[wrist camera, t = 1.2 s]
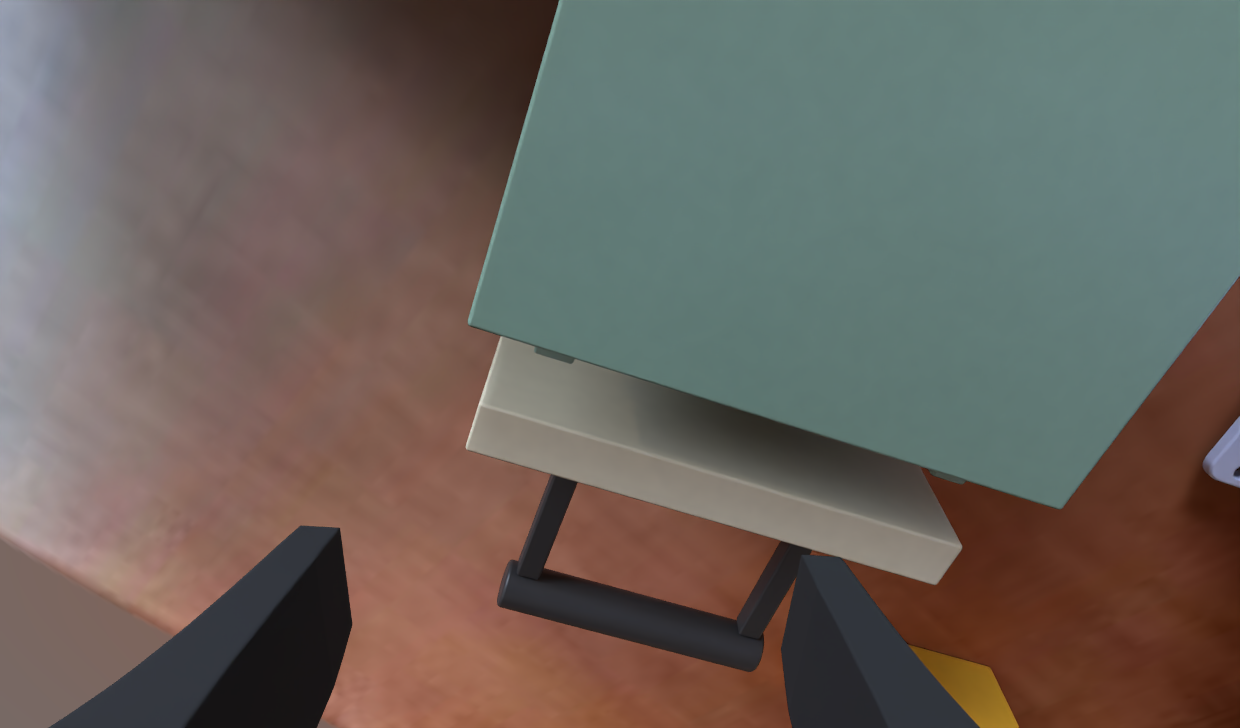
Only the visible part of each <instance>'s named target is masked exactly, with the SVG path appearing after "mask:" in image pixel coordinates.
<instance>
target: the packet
mask: <svg viewBox="0 0 1240 728" xmlns="http://www.w3.org/2000/svg"><path fill="white" fill-rule="evenodd" d="M908 646H909V647H910V648H911V649H912V650H913V652H914V653H915V654H916V655H917V657H918V658H919V659H920V660H921V661H922V663H923V664H924V665H925V666H926V667H927V669H928V670H929V671H930V672H931V673H932V675H933V676H934V677H935V678H936V679H937V680H938V682H939V683H940V684H941V685H942V686H943V687H944V689H945V690H946V691H947V692H948V693H949V694H950V695H951V696H952V697H953V699H954V700H955V701H956V702H957V703H958V704H959V705H960V706H961V707H962V708H963V710H964V711H965V712H966V713H967V714H968V715H969V716H970V717H971V718H972V719H973V720H974V721H975V723H976V724H977V725H978V726H979V727H980V728H1019V726H1018V724H1017V722H1016V719H1015V717H1014V715H1013V713H1012V711H1011V709H1010V707H1009V705H1008V703H1007V701H1006V699H1005V697H1004V695H1003V693H1002V691H1001V689H1000V687H999V684H998V682H997V680H996V678H995V676H994V674H993V672H992V670H991V668H990V667H988V666H984V665H981V664H977V663H973V662H970V661H966V660H963V659H959V658H955V657H952V656H948V655H944V654H941V653H937V652H933V651H930V650H926V649H923V648H919V647H915V646H912V645H908Z"/></svg>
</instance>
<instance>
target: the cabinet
mask: <svg viewBox="0 0 1240 728" xmlns="http://www.w3.org/2000/svg"><path fill="white" fill-rule="evenodd" d="M1239 276H1240V0H559V3H558V7H557V10H556V14H555V17H554V21H553V24H552V28H551V31H550V35H549V38H548V42H547V45H546V49H545V52H544V56H543V59H542V63H541V66H540V70H539V73H538V77H537V80H536V84H535V87H534V91H533V94H532V98H531V101H530V105H529V108H528V112H527V115H526V119H525V122H524V126H523V129H522V133H521V136H520V140H519V143H518V147H517V150H516V154H515V157H514V161H513V164H512V168H511V171H510V175H509V178H508V182H507V185H506V189H505V192H504V196H503V199H502V203H501V206H500V210H499V213H498V217H497V220H496V224H495V227H494V231H493V234H492V238H491V241H490V245H489V248H488V252H487V255H486V259H485V262H484V266H483V269H482V273H481V276H480V280H479V283H478V287H477V290H476V294H475V297H474V301H473V304H472V308H471V311H470V315H469V318H468V325H469V326H471V327H474V328H477V329H480V330H483V331H487V332H490V333H493V334H496V335H499V336H503V337H506V338H509V339H512V340H515V341H519V342H522V343H525V344H528V345H531V346H535V347H538V348H541V349H544V350H548V351H551V352H554V353H557V354H560V355H564V356H567V357H570V358H573V359H576V360H580V361H583V362H586V363H589V364H593V365H596V366H599V367H602V368H605V369H609V370H612V371H615V372H618V373H621V374H625V375H628V376H631V377H634V378H637V379H641V380H644V381H647V382H650V383H654V384H657V385H660V386H663V387H666V388H670V389H673V390H676V391H679V392H682V393H686V394H689V395H692V396H695V397H698V398H702V399H705V400H708V401H711V402H715V403H718V404H721V405H724V406H727V407H731V408H734V409H737V410H740V411H743V412H747V413H750V414H753V415H756V416H759V417H763V418H766V419H769V420H772V421H776V422H779V423H782V424H785V425H788V426H792V427H795V428H798V429H801V430H804V431H808V432H811V433H814V434H817V435H821V436H824V437H827V438H830V439H833V440H837V441H840V442H843V443H846V444H849V445H853V446H856V447H859V448H862V449H865V450H869V451H872V452H875V453H878V454H882V455H885V456H888V457H891V458H894V459H898V460H901V461H904V462H907V463H910V464H914V465H917V466H920V467H923V468H926V469H930V470H933V471H936V472H939V473H943V474H946V475H949V476H952V477H955V478H959V479H962V480H965V481H968V482H971V483H975V484H978V485H981V486H984V487H988V488H991V489H994V490H997V491H1000V492H1004V493H1007V494H1010V495H1013V496H1016V497H1020V498H1023V499H1026V500H1029V501H1032V502H1036V503H1039V504H1042V505H1045V506H1049V507H1052V508H1055V509H1058V510H1059V509H1062V508H1063V507H1064V505H1065V504H1066V503H1067V501H1068V500H1069V499H1070V498H1071V496H1072V495H1073V494H1074V492H1075V491H1076V490H1077V488H1078V487H1079V486H1080V484H1081V483H1082V482H1083V480H1084V479H1085V478H1086V477H1087V475H1088V474H1089V473H1090V471H1091V470H1092V469H1093V467H1094V466H1095V465H1096V463H1097V462H1098V461H1099V460H1100V458H1101V457H1102V456H1103V454H1104V453H1105V452H1106V450H1107V449H1108V448H1109V446H1110V445H1111V444H1112V443H1113V441H1114V440H1115V439H1116V437H1117V436H1118V435H1119V433H1120V432H1121V431H1122V429H1123V428H1124V427H1125V425H1126V424H1127V423H1128V422H1129V420H1130V419H1131V418H1132V416H1133V415H1134V414H1135V412H1136V411H1137V410H1138V408H1139V407H1140V406H1141V405H1142V403H1143V402H1144V401H1145V399H1146V398H1147V397H1148V395H1149V394H1150V393H1151V391H1152V390H1153V389H1154V388H1155V386H1156V385H1157V384H1158V382H1159V381H1160V380H1161V378H1162V377H1163V376H1164V374H1165V373H1166V372H1167V370H1168V369H1169V368H1170V367H1171V365H1172V364H1173V363H1174V361H1175V360H1176V359H1177V357H1178V356H1179V355H1180V353H1181V352H1182V351H1183V350H1184V348H1185V347H1186V346H1187V344H1188V343H1189V342H1190V340H1191V339H1192V338H1193V336H1194V335H1195V334H1196V332H1197V331H1198V330H1199V329H1200V327H1201V326H1202V325H1203V323H1204V322H1205V321H1206V319H1207V318H1208V317H1209V315H1210V314H1211V313H1212V312H1213V310H1214V309H1215V308H1216V306H1217V305H1218V304H1219V302H1220V301H1221V300H1222V298H1223V297H1224V296H1225V295H1226V293H1227V292H1228V291H1229V289H1230V288H1231V287H1232V285H1233V284H1234V283H1235V281H1236V280H1237V279H1238V277H1239Z"/></svg>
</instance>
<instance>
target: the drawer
mask: <svg viewBox="0 0 1240 728" xmlns="http://www.w3.org/2000/svg"><path fill="white" fill-rule="evenodd" d="M466 449H467V450H468V451H471V452H475V453H478V454H482V455H485V456H489V457H492V458H496V459H499V460H503V461H506V462H510V463H513V464H516V465H520V466H523V467H527V468H530V469H534V470H537V471H541V472H544V473H548V474H551V475H550V478H549V481H548V483H547V486H546V488H545V491H544V494H543V496H542V499H541V502H540V504H539V507H538V510H537V512H536V515H535V518H534V520H533V523H532V526H531V528H530V531H529V534H528V536H527V539H526V542H525V544H524V547H523V550H522V552H521V555H520V557H519V561H516V560H510V561H509V563H508V564H507V567H506V569H505V572H504V575H503V578H502V582H501V585H500V589H499V593H498V598H497V605H498V606H499V607H502V608H506V609H510V610H514V611H517V612H521V613H525V614H529V615H533V616H536V617H540V618H544V619H548V620H552V621H556V622H559V623H563V624H567V625H571V626H575V627H578V628H582V629H586V630H590V631H594V632H598V633H601V634H605V635H609V636H613V637H617V638H621V639H624V640H628V641H632V642H636V643H640V644H643V645H647V646H651V647H655V648H659V649H663V650H666V651H670V652H674V653H678V654H682V655H685V656H689V657H693V658H697V659H701V660H705V661H708V662H712V663H716V664H720V665H724V666H728V667H731V668H735V669H739V670H743V671H747V672H752V671H754V670H755V669H756V668H757V666H758V665H759V662H760V660H761V657H762V653H763V647H764V636H763V632H764V630H765V628H766V627H767V625H768V623H769V622H770V620H771V618H772V617H773V615H774V613H775V612H776V610H777V608H778V607H779V605H780V603H781V602H782V600H783V598H784V597H785V595H786V593H787V592H788V590H789V588H790V587H791V585H792V583H793V582H794V580H795V578H796V577H797V573H798V568H799V564H800V559H801V555H810V553H811V551H812V550H814V551H818V552H821V553H825V554H828V555H832V556H835V557H841V558H842V559H846V560H849V561H853V562H856V563H859V564H863V565H866V566H870V567H873V568H877V569H880V570H884V571H887V572H891V573H894V574H898V575H901V576H904V577H908V578H911V579H915V580H918V581H922V582H925V583H929V584H932V585H936V584H938V582H939V581H940V579H941V578H942V577H943V575H944V574H945V572H946V571H947V570H948V568H949V567H950V565H951V564H952V563H953V561H954V560H955V558H956V557H957V556H958V554H959V553H960V551H961V550H962V545H961V543H960V541H959V539H958V537H957V535H956V533H955V532H954V530H953V528H952V526H951V524H950V522H949V520H948V519H947V517H946V515H945V513H944V511H943V509H942V507H941V505H940V504H939V502H938V500H937V498H936V496H935V494H934V492H933V491H932V489H931V487H930V485H929V483H928V481H927V479H926V477H925V476H924V474H923V472H922V470H921V468H920V466H917V465H914V464H910V463H907V462H904V461H901V460H898V459H894V458H891V457H888V456H885V455H882V454H878V453H875V452H872V451H869V450H865V449H862V448H859V447H856V446H853V445H849V444H846V443H843V442H840V441H837V440H833V439H830V438H827V437H824V436H821V435H817V434H814V433H811V432H808V431H804V430H801V429H798V428H795V427H792V426H788V425H785V424H782V423H779V422H776V421H772V420H769V419H766V418H763V417H759V416H756V415H753V414H750V413H747V412H743V411H740V410H737V409H734V408H731V407H727V406H724V405H721V404H718V403H715V402H711V401H708V400H705V399H702V398H698V397H695V396H692V395H689V394H686V393H682V392H679V391H676V390H673V389H670V388H666V387H663V386H660V385H657V384H654V383H650V382H647V381H644V380H641V379H637V378H634V377H631V376H628V375H625V374H621V373H618V372H615V371H612V370H609V369H605V368H602V367H599V366H596V365H593V364H589V363H586V362H583V361H580V360H576V359H573V358H570V357H567V356H564V355H560V354H557V353H554V352H551V351H548V350H544V349H541V348H538V347H535V346H531V345H528V344H525V343H522V342H519V341H515V340H512V339H509V338H506V337H503V336H501V337H500V340H499V343H498V346H497V349H496V352H495V356H494V359H493V362H492V365H491V368H490V371H489V374H488V377H487V380H486V383H485V386H484V389H483V393H482V396H481V399H480V402H479V405H478V408H477V411H476V415H475V418H474V421H473V424H472V428H471V431H470V434H469V437H468V440H467V444H466ZM928 470H929V472H930V473H931V474H932V475H933V476H935V477H939V478H942V479H945V480H948V481H951V482H955V483H958V484H964V483H965V482H966V481H965V480H962V479H959V478H955V477H952V476H949V475H946V474H943V473H939V472H936V471H933V470H930V469H928ZM578 482H579V483H582V484H586V485H589V486H593V487H596V488H600V489H603V490H607V491H610V492H613V493H617V494H620V495H624V496H627V497H631V498H634V499H638V500H641V501H645V502H648V503H652V504H655V505H659V506H662V507H665V508H669V509H672V510H676V511H679V512H683V513H686V514H690V515H693V516H697V517H700V518H704V519H707V520H710V521H714V522H717V523H721V524H724V525H728V526H731V527H735V528H738V529H742V530H745V531H749V532H752V533H756V534H759V535H762V536H766V537H769V538H773V539H776V540H780V543H779V545H778V547H777V548H776V550H775V552H774V554H773V555H772V557H771V559H770V561H769V562H768V564H767V566H766V568H765V569H764V571H763V573H762V575H761V576H760V578H759V580H758V582H757V584H756V585H755V587H754V589H753V591H752V592H751V594H750V596H749V598H748V599H747V601H746V603H745V605H744V606H743V608H742V610H741V612H740V613H739V615H738V617H737V620H734V619H730V618H726V617H723V616H719V615H715V614H712V613H708V612H704V611H700V610H697V609H693V608H689V607H686V606H682V605H678V604H675V603H671V602H667V601H664V600H660V599H656V598H652V597H649V596H645V595H641V594H638V593H634V592H630V591H627V590H623V589H619V588H616V587H612V586H608V585H605V584H601V583H597V582H593V581H590V580H586V579H582V578H579V577H575V576H571V575H568V574H564V573H560V572H557V571H553V570H549V569H545V568H544V566H545V563H546V561H547V558H548V556H549V553H550V551H551V548H552V546H553V543H554V541H555V538H556V536H557V533H558V531H559V528H560V526H561V523H562V521H563V518H564V515H565V513H566V510H567V508H568V505H569V503H570V500H571V498H572V495H573V493H574V490H575V488H576V485H577V483H578Z"/></svg>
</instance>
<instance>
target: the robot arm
mask: <svg viewBox="0 0 1240 728" xmlns="http://www.w3.org/2000/svg"><path fill="white" fill-rule="evenodd" d="M1239 467H1240V416H1239V417H1238V419H1237V420H1236V421H1235V422H1234V423H1233V425H1232V426H1231V427H1230V428H1229V429H1228V431H1227V432H1226V433H1225V434H1224V435H1223V436H1222V438H1221V439H1220V440H1219V441H1218V442H1217V444H1216V445H1215V446H1214V447H1213V448H1212V450H1211V451H1210V452H1209V453H1208V454H1207V456H1206V457H1205V459H1204V461H1203V469H1204V471H1205V472H1206V473H1207V474H1208V475H1209V476H1210V477H1212V478H1213V479H1215V480H1217V481H1220V482H1223V483H1226V484H1229V485H1232V486H1235V487H1238V488H1240V469H1239V470H1237V471H1235V470H1236V469H1237V468H1239ZM351 628H352V618H351V610H350V602H349V595H348V587H347V579H346V571H345V564H344V556H343V548H342V540H341V532H340V528H332V527H315V526H300V527H299V528H297V529H296V530H295V531H294V532H293V533H292V534H290V535H289V536H288V537H287V538H286V539H285V540H284V541H282V542H281V543H280V544H279V545H278V546H277V547H276V548H275V549H274V550H273V551H271V552H270V553H269V554H268V555H267V556H266V557H265V558H264V559H263V560H262V561H260V562H259V563H258V564H257V565H256V566H255V567H254V568H253V569H252V570H251V571H249V572H248V573H247V574H246V575H245V576H244V577H243V578H242V579H241V580H239V581H238V582H237V583H236V584H235V585H234V586H233V587H232V588H231V589H229V590H228V591H227V592H226V593H225V594H224V595H222V596H221V597H220V598H219V599H218V600H217V601H216V602H214V603H213V604H212V605H211V606H210V607H209V608H207V609H206V610H205V611H204V612H203V613H202V614H201V615H199V616H198V617H197V618H196V619H195V620H194V621H192V622H191V623H190V624H189V625H188V626H186V627H185V628H184V629H183V630H182V631H180V632H179V633H178V634H177V635H175V636H174V637H173V638H172V639H171V640H169V641H168V642H167V643H165V644H164V645H163V646H162V647H160V648H159V649H158V650H157V651H155V652H154V653H153V654H151V655H150V656H149V657H148V658H146V659H145V660H144V661H143V662H141V663H140V664H139V665H138V666H136V667H135V668H134V669H132V670H131V671H130V672H128V673H127V674H126V675H124V676H123V677H122V678H120V679H119V680H118V681H116V682H115V683H114V684H112V685H111V686H109V687H108V688H107V689H105V690H104V691H102V692H101V693H100V694H98V695H97V696H95V697H94V698H92V699H91V700H89V701H88V702H86V703H85V704H84V705H82V706H80V707H79V708H78V709H76V710H75V711H73V712H72V713H70V714H69V715H67V716H66V717H64V718H63V719H61V720H60V721H58V722H57V723H55V724H53V725H52V726H51V727H49V728H317V726H318V723H319V721H320V719H321V716H322V714H323V712H324V709H325V707H326V705H327V702H328V700H329V698H330V695H331V693H332V690H333V688H334V685H335V682H336V679H337V675H338V672H339V669H340V666H341V662H342V659H343V656H344V652H345V649H346V645H347V642H348V638H349V635H350V631H351ZM781 653H782V662H783V671H784V679H785V688H786V695H787V703H788V710H789V715H790V720H791V724H792V728H980V727H979V726H978V725H977V724H976V723H975V721H974V720H973V719H972V718H971V717H970V716H969V715H968V714H967V713H966V712H965V711H964V710H963V708H962V707H961V706H960V705H959V704H958V703H957V702H956V701H955V700H954V699H953V697H952V696H951V695H950V694H949V693H948V692H947V691H946V690H945V689H944V687H943V686H942V685H941V684H940V683H939V682H938V680H937V679H936V678H935V677H934V676H933V675H932V673H931V672H930V671H929V670H928V669H927V667H926V666H925V665H924V664H923V663H922V661H921V660H920V659H919V658H918V657H917V655H916V654H915V653H914V652H913V650H912V649H911V648H910V647H909V646H908V644H907V643H906V642H905V641H904V640H903V638H902V637H901V636H900V634H899V633H898V632H897V631H896V629H895V628H894V627H893V626H892V624H891V623H890V622H889V620H888V619H887V618H886V616H885V615H884V614H883V613H882V611H881V610H880V609H879V607H878V606H877V605H876V603H875V602H874V601H873V599H872V598H871V597H870V595H869V594H868V593H867V591H866V590H865V589H864V587H863V586H862V585H861V583H860V582H859V581H858V579H857V578H856V577H855V575H854V574H853V573H852V571H851V570H850V568H849V567H848V566H847V565H846V563H845V562H844V561H843V560H842V558H841V557H832V556H815V555H801V559H800V564H799V568H798V573H797V577H796V582H795V587H794V591H793V596H792V600H791V605H790V610H789V614H788V619H787V623H786V628H785V633H784V637H783V642H782V646H781Z"/></svg>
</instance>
